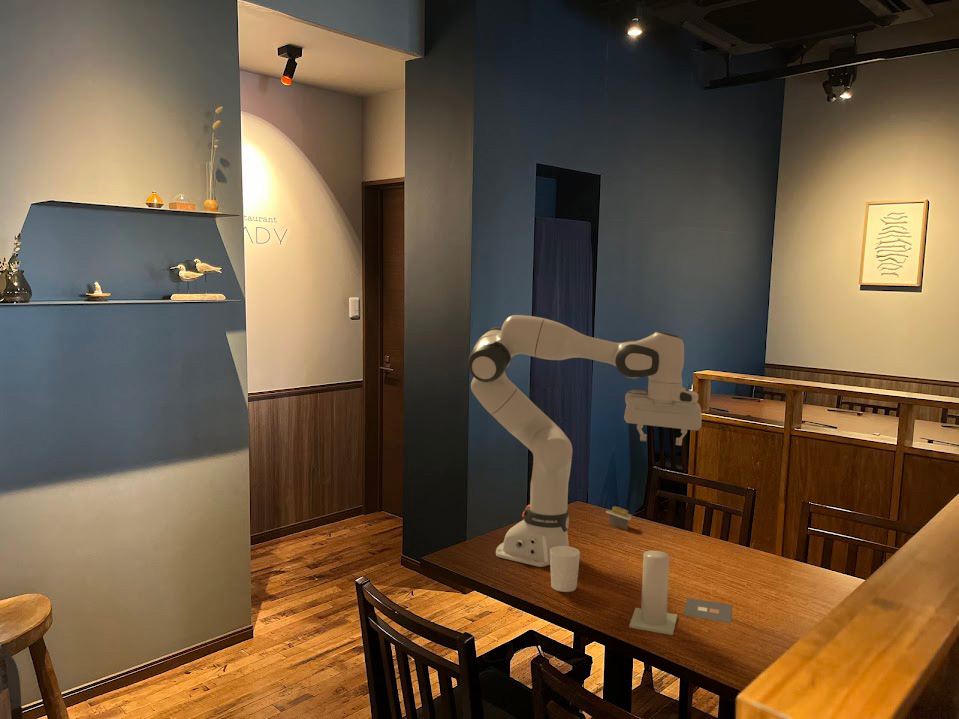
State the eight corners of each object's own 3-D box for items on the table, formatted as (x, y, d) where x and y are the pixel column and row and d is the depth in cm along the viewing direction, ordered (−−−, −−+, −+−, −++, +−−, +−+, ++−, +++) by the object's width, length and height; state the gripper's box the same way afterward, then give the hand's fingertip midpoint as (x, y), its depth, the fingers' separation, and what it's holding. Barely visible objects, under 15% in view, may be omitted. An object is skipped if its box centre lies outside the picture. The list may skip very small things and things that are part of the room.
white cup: (561, 578, 198) (562, 543, 197) (584, 587, 192) (585, 551, 191) (543, 586, 193) (544, 550, 192) (566, 596, 187) (567, 558, 186)
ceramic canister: (639, 622, 171) (641, 557, 169) (642, 612, 176) (645, 549, 175) (665, 627, 169) (668, 561, 167) (667, 616, 174) (670, 552, 173)
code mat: (683, 616, 176) (683, 615, 176) (687, 598, 187) (687, 597, 187) (731, 624, 173) (731, 623, 173) (732, 605, 183) (732, 604, 183)
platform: (611, 517, 253) (612, 499, 253) (652, 531, 239) (653, 512, 239) (588, 524, 246) (588, 505, 245) (629, 539, 232) (629, 519, 231)
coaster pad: (629, 628, 170) (629, 624, 170) (635, 610, 179) (635, 607, 179) (672, 635, 166) (673, 632, 166) (676, 617, 176) (677, 614, 175)
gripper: (623, 389, 194) (620, 440, 195) (702, 397, 187) (698, 449, 188) (627, 387, 200) (624, 436, 201) (704, 394, 193) (700, 445, 194)
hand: (660, 442), depth 195 cm, fingers open, 8 cm apart
